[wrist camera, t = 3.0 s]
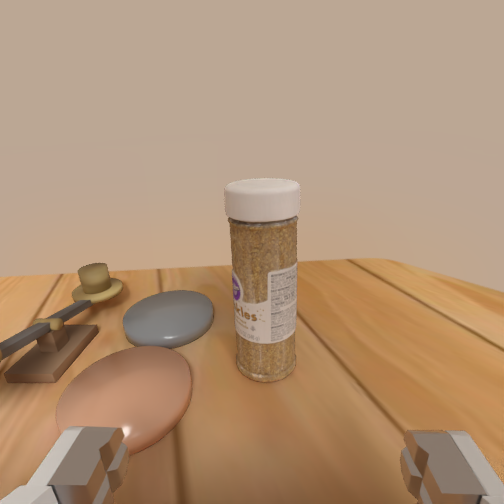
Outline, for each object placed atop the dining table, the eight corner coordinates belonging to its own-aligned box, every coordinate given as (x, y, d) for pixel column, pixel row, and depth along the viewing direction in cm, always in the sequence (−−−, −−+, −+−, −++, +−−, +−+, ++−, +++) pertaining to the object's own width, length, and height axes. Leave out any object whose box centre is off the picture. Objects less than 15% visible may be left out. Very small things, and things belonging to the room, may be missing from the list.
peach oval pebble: (202, 358, 24) (200, 345, 23) (173, 461, 16) (169, 445, 16) (102, 358, 24) (99, 346, 24) (28, 459, 16) (21, 443, 16)
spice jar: (225, 359, 23) (209, 182, 19) (271, 336, 26) (268, 174, 21) (260, 397, 20) (253, 190, 15) (310, 366, 22) (317, 180, 17)
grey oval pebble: (219, 299, 32) (218, 289, 31) (204, 349, 24) (203, 337, 24) (144, 300, 32) (143, 290, 32) (108, 350, 25) (105, 338, 24)
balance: (133, 296, 33) (124, 252, 32) (-17, 478, 16) (-58, 403, 14) (92, 297, 34) (81, 254, 32) (-101, 476, 16) (-151, 402, 14)
